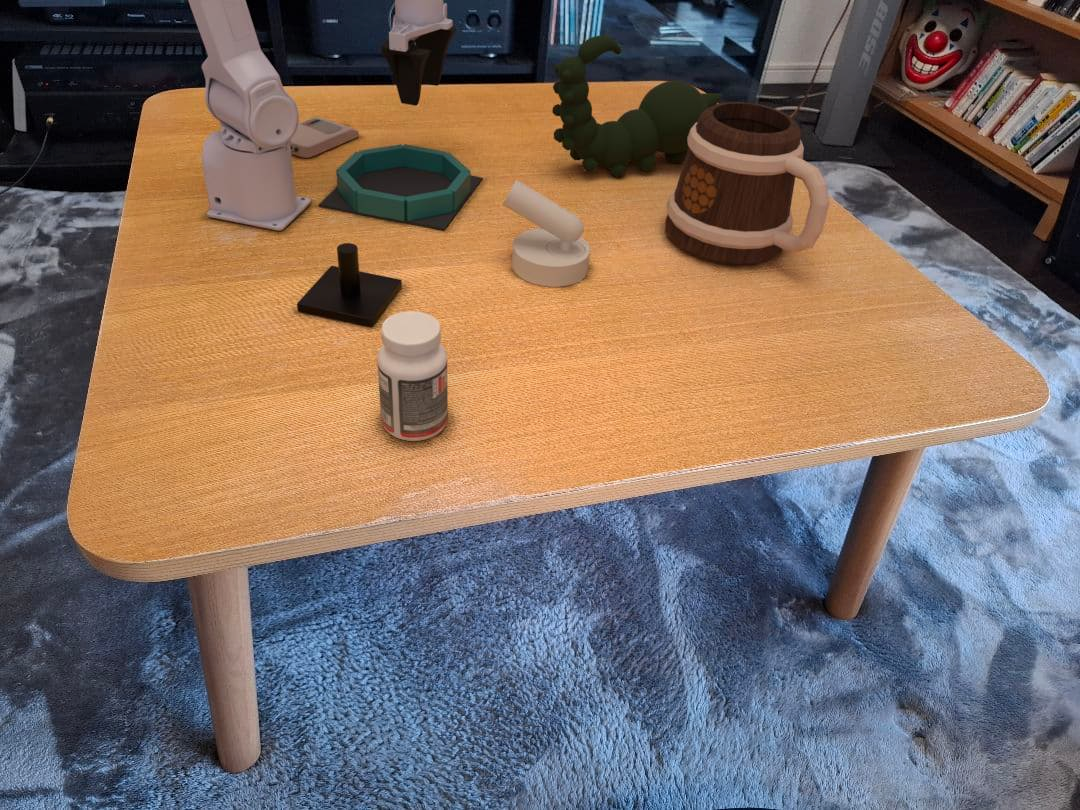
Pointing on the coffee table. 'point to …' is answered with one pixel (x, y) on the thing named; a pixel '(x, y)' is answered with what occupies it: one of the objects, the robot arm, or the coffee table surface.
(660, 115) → the toy figurine
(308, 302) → the post
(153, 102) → the coffee table surface
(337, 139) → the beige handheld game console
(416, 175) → the mat
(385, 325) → the pill bottle
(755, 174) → the mug
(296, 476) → the coffee table surface
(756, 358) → the coffee table surface
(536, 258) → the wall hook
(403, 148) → the hoop
